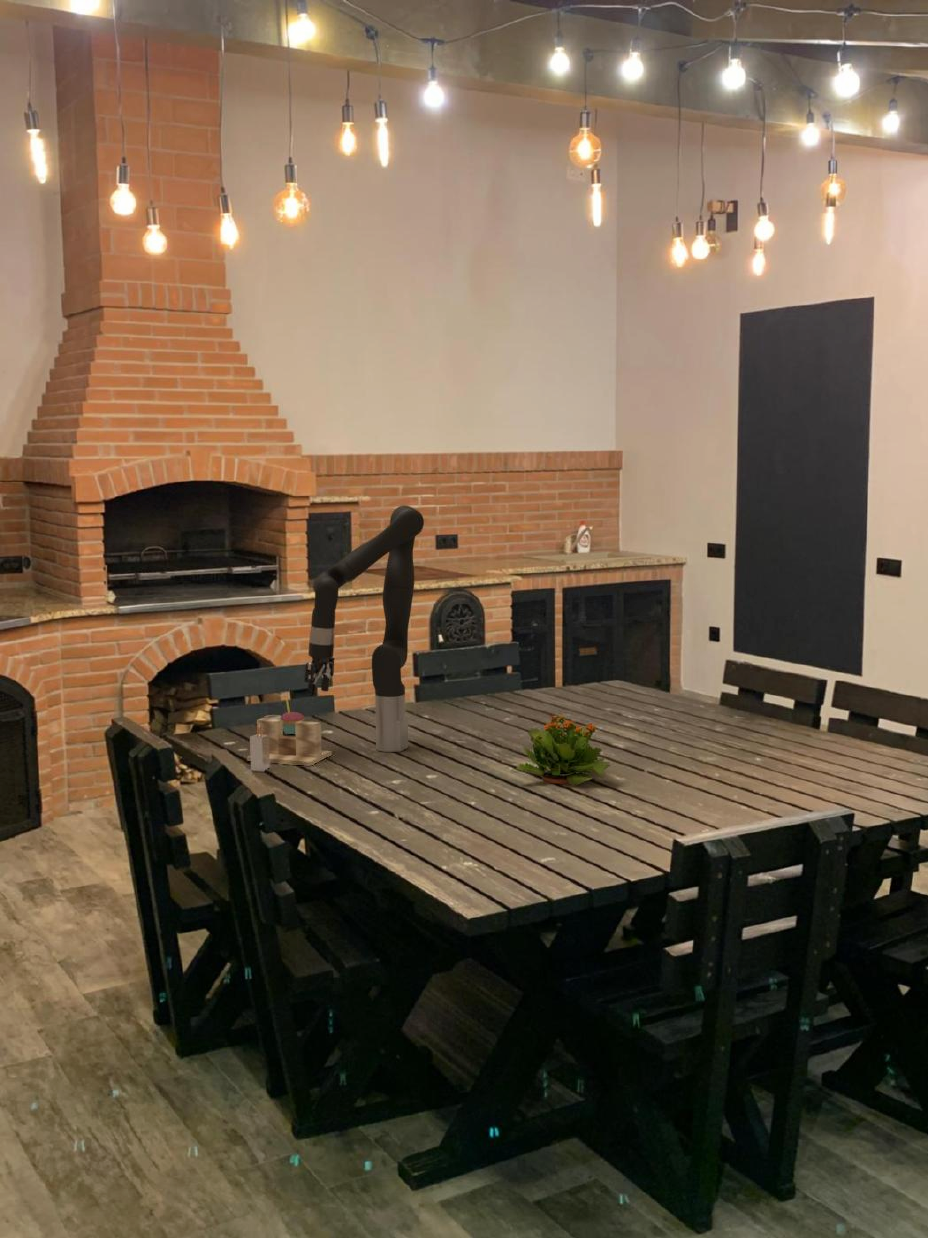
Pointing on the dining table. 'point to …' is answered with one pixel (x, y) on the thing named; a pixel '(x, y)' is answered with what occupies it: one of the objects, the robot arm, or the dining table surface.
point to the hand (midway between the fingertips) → (318, 693)
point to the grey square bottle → (259, 751)
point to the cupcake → (290, 720)
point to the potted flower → (563, 753)
